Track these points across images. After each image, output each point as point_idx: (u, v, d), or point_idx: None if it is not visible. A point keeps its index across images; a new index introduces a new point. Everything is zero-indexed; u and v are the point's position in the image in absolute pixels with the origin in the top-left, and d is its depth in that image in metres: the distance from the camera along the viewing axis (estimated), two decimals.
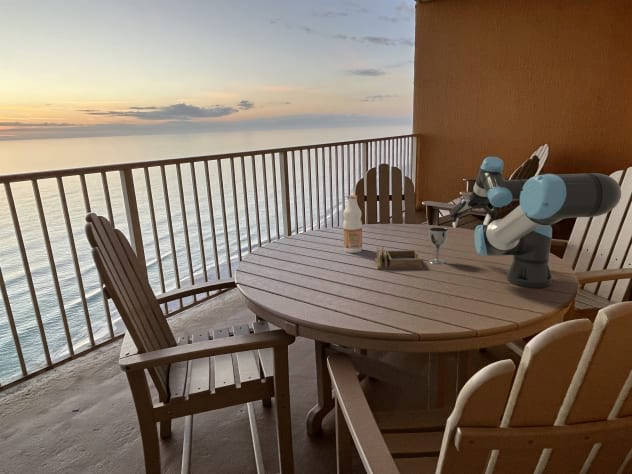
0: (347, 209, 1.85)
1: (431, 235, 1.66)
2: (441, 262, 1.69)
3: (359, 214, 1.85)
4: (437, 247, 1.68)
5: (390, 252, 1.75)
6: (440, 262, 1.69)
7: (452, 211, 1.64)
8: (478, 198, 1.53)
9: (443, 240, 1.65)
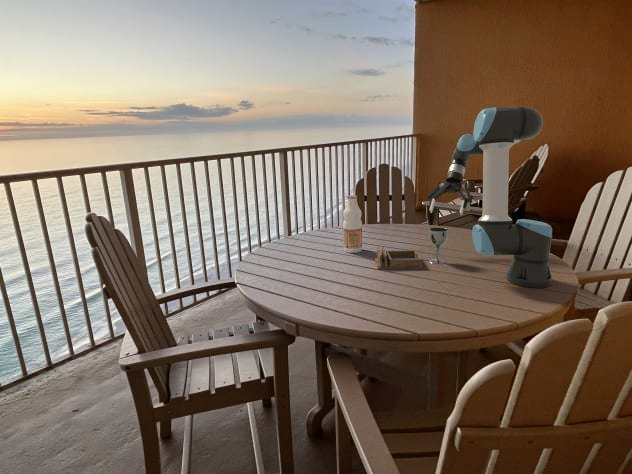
0: (347, 209, 1.85)
1: (431, 235, 1.66)
2: (441, 262, 1.69)
3: (359, 214, 1.85)
4: (437, 247, 1.68)
5: (390, 252, 1.75)
6: (440, 262, 1.69)
7: None
8: (449, 173, 1.81)
9: (443, 240, 1.65)
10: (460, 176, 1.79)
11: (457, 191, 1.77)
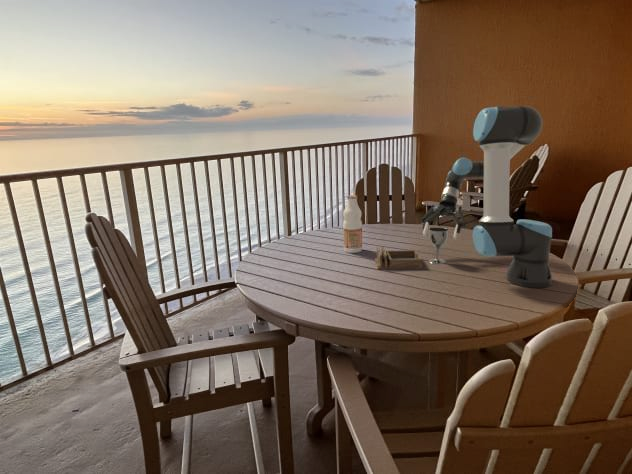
0: (347, 209, 1.85)
1: (431, 235, 1.66)
2: (441, 262, 1.69)
3: (359, 214, 1.85)
4: (437, 247, 1.68)
5: (390, 252, 1.75)
6: (440, 262, 1.69)
7: None
8: (442, 196, 1.78)
9: (443, 240, 1.65)
10: (454, 199, 1.76)
11: (451, 215, 1.74)
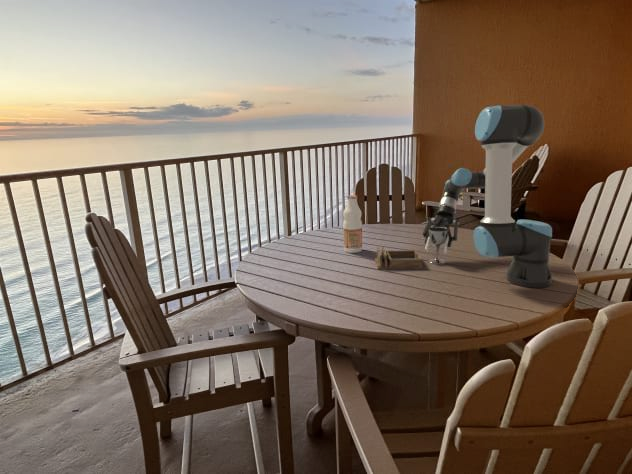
0: (347, 209, 1.85)
1: (431, 235, 1.66)
2: (441, 262, 1.69)
3: (359, 214, 1.85)
4: (437, 247, 1.68)
5: (390, 252, 1.75)
6: (440, 262, 1.69)
7: None
8: (440, 207, 1.74)
9: (443, 240, 1.65)
10: (452, 210, 1.72)
11: (446, 226, 1.71)
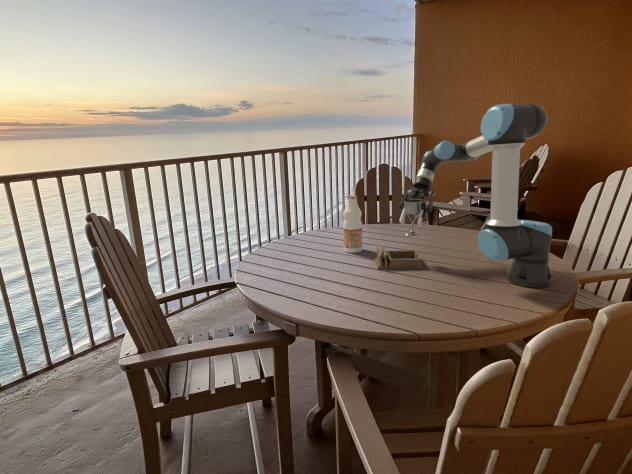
0: (347, 209, 1.85)
1: (405, 206, 1.64)
2: (416, 234, 1.66)
3: (359, 214, 1.85)
4: (412, 219, 1.66)
5: (390, 252, 1.75)
6: (415, 234, 1.66)
7: None
8: (416, 179, 1.71)
9: (417, 211, 1.62)
10: (428, 181, 1.69)
11: (422, 198, 1.68)
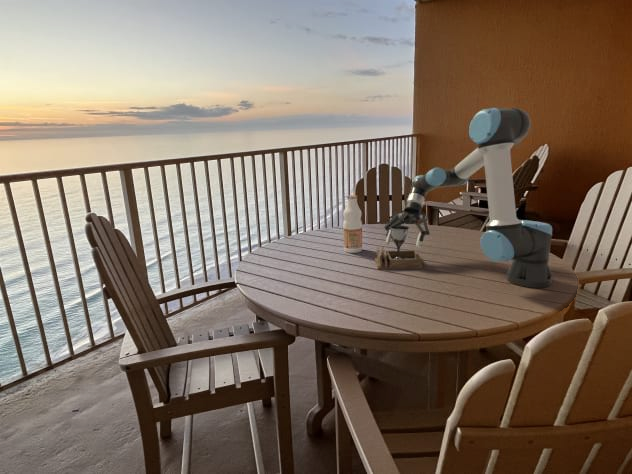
0: (347, 209, 1.85)
1: (392, 233, 1.67)
2: None
3: (359, 214, 1.85)
4: (398, 245, 1.69)
5: (390, 252, 1.75)
6: None
7: None
8: (407, 203, 1.73)
9: (403, 238, 1.66)
10: (418, 206, 1.70)
11: (415, 222, 1.69)
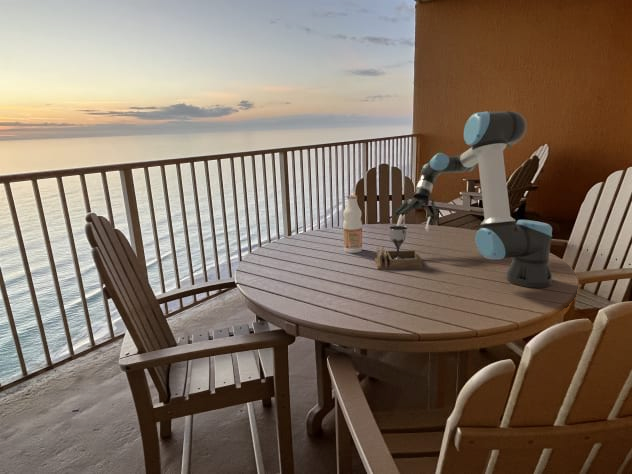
0: (347, 209, 1.85)
1: (390, 233, 1.67)
2: None
3: (359, 214, 1.85)
4: (397, 245, 1.69)
5: (390, 252, 1.75)
6: None
7: None
8: (416, 190, 1.82)
9: (402, 238, 1.66)
10: (427, 192, 1.80)
11: (424, 207, 1.78)
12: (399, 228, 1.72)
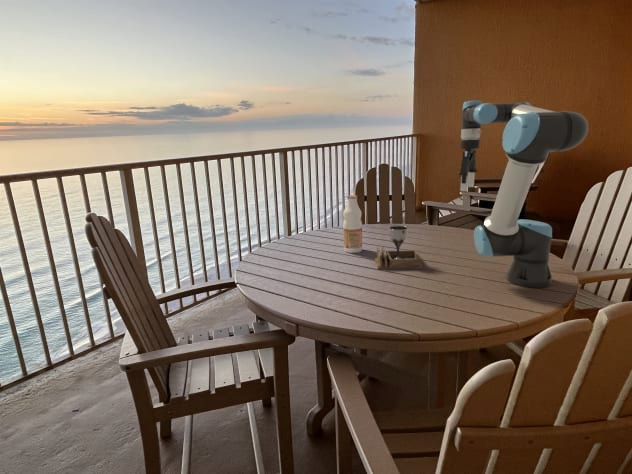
0: (347, 209, 1.85)
1: (390, 233, 1.67)
2: None
3: (359, 214, 1.85)
4: (397, 245, 1.69)
5: (390, 252, 1.75)
6: None
7: None
8: None
9: (402, 238, 1.66)
10: (463, 144, 1.61)
11: None
12: (399, 228, 1.72)
